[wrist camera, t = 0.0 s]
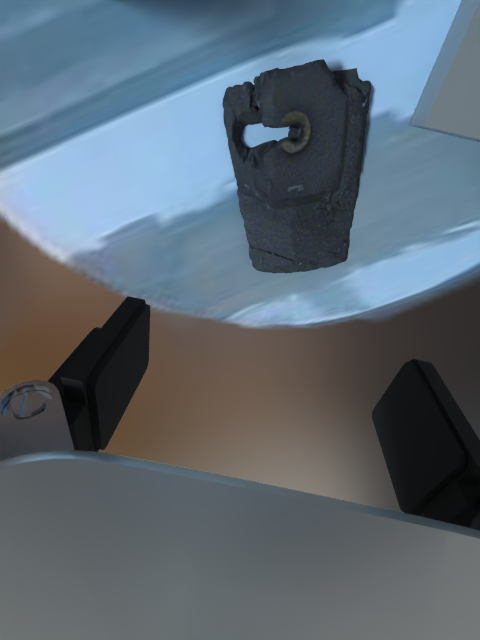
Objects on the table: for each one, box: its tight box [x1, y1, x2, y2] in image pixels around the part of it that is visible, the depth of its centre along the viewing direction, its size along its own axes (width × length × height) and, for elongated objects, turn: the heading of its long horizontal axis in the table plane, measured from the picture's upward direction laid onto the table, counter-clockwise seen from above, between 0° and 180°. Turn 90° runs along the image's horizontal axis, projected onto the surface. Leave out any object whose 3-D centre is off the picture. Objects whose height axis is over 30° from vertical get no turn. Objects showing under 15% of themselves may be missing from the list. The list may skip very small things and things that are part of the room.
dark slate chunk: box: [223, 60, 371, 273], centre depth 35 cm, size 15×22×5 cm
